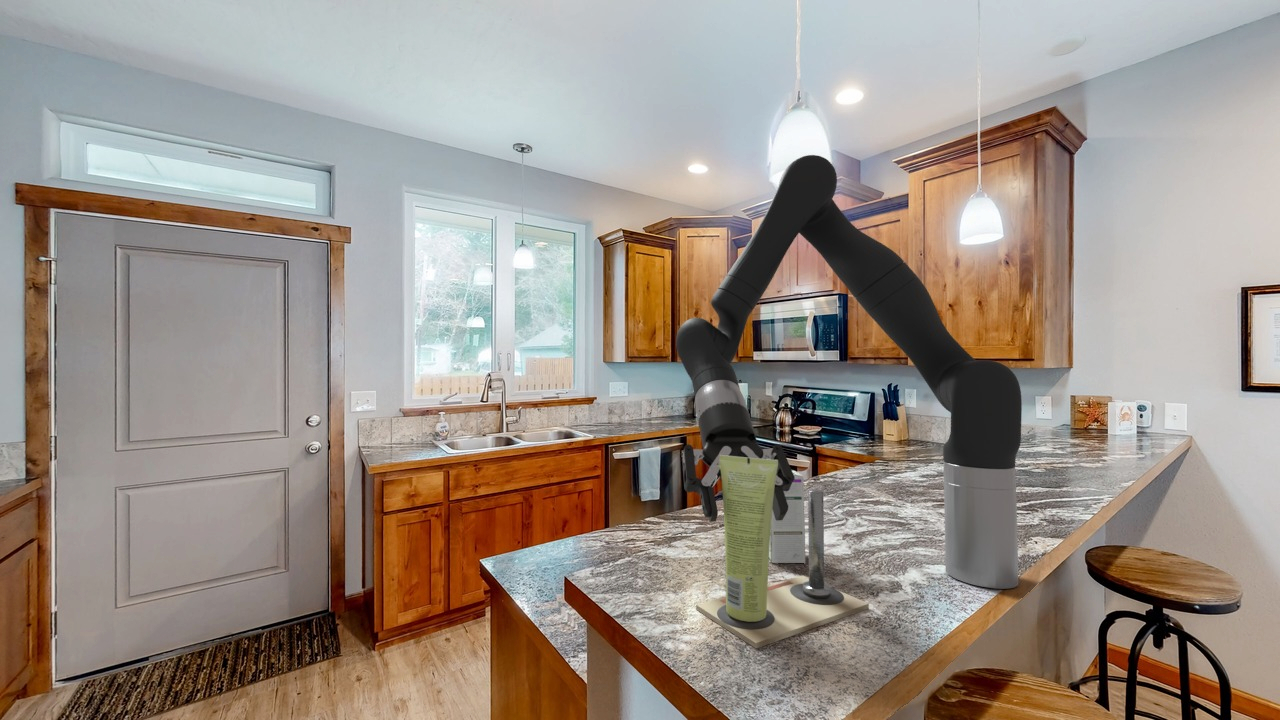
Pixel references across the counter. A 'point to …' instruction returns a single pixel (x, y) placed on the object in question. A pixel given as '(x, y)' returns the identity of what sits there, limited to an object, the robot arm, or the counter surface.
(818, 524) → the fixed peg
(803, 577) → the board
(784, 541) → the syrup box
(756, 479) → the tube
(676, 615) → the counter surface
